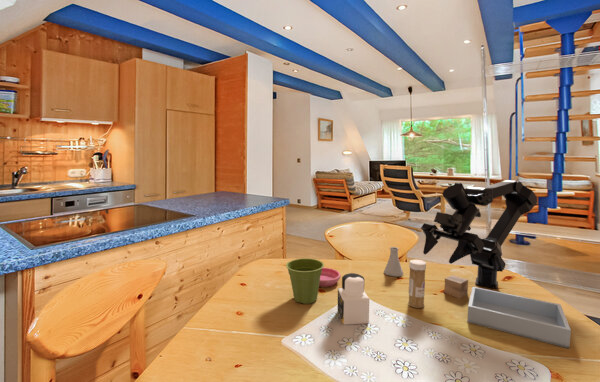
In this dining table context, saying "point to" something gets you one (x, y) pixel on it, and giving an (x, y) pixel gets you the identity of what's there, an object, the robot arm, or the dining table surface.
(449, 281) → the walnut cube
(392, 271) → the flask
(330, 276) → the saucer
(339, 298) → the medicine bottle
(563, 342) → the tray
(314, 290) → the plant pot
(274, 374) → the dining table surface
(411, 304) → the sprinkles bottle
